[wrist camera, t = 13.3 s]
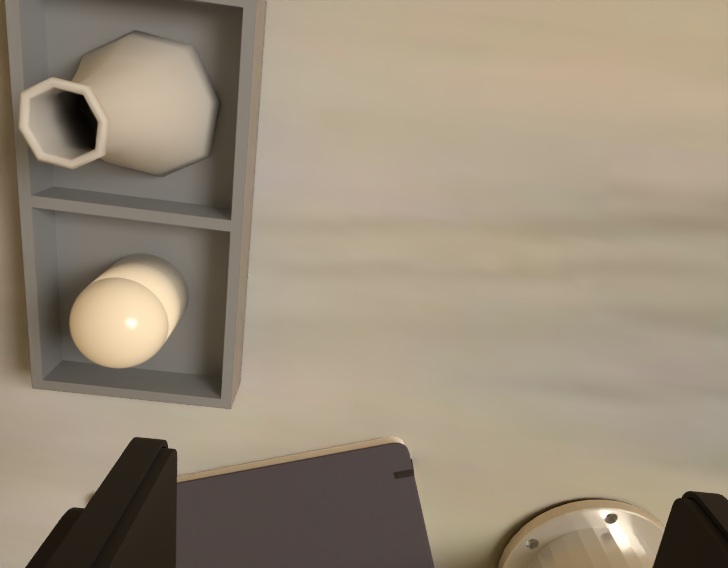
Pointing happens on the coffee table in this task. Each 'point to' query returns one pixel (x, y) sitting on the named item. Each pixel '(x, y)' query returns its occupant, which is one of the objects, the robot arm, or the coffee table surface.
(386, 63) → the coffee table surface
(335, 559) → the notebook
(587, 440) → the coffee table surface
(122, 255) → the tray
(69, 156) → the flask
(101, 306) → the cream egg
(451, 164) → the coffee table surface
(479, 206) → the coffee table surface
